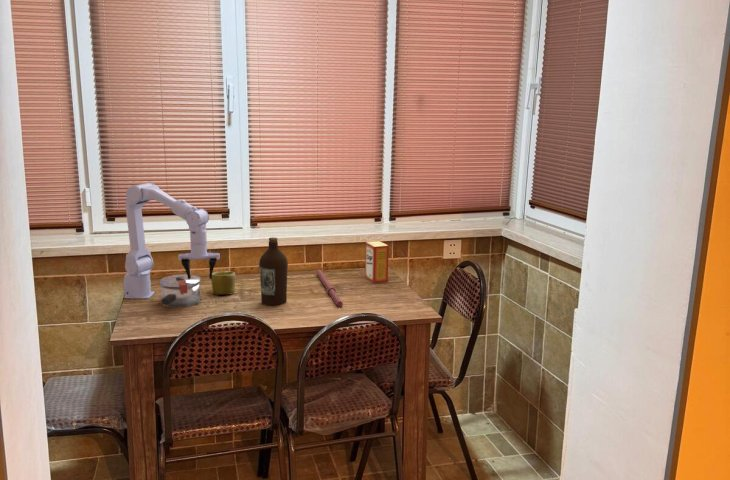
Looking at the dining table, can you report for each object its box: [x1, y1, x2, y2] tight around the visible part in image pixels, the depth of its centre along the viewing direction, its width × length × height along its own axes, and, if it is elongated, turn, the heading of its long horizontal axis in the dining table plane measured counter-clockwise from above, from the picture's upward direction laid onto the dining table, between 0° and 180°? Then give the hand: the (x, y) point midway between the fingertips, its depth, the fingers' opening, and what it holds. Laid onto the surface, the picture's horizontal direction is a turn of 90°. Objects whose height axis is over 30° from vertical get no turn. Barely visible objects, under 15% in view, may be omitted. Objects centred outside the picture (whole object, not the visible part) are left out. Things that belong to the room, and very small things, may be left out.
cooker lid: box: [159, 273, 201, 294], centre depth 239 cm, size 21×15×3 cm
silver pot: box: [160, 282, 201, 308], centre depth 240 cm, size 20×14×7 cm
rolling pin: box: [316, 269, 344, 308], centre depth 261 cm, size 45×3×3 cm, turn 14°
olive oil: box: [258, 236, 289, 307], centre depth 242 cm, size 11×11×25 cm
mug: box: [210, 270, 236, 296], centre depth 256 cm, size 12×10×10 cm
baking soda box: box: [364, 240, 389, 284], centre depth 276 cm, size 10×6×16 cm
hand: (200, 278), depth 238 cm, fingers open, 7 cm apart
